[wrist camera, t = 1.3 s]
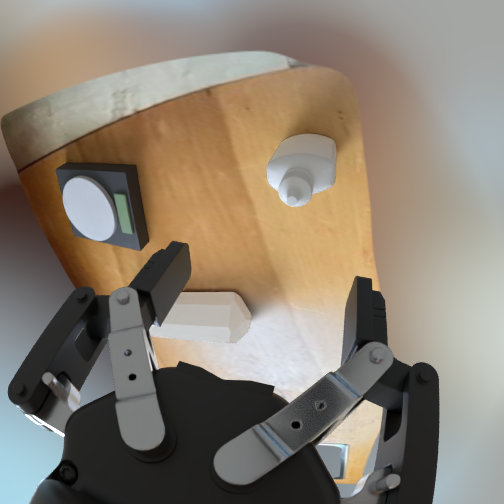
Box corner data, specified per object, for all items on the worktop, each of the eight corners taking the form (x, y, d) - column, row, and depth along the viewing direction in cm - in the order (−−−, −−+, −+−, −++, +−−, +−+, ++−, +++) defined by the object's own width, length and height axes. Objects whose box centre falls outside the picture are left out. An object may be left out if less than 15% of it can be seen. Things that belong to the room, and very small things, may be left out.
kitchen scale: (65, 162, 38) (51, 171, 36) (136, 165, 35) (121, 175, 33) (82, 228, 45) (71, 238, 43) (149, 241, 43) (138, 254, 40)
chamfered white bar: (237, 298, 39) (110, 295, 48) (243, 349, 39) (117, 335, 48) (257, 286, 46) (137, 287, 54) (261, 330, 46) (143, 323, 55)
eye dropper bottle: (291, 118, 28) (265, 155, 18) (343, 143, 28) (344, 193, 19) (275, 155, 30) (242, 208, 21) (324, 178, 31) (314, 242, 21)
